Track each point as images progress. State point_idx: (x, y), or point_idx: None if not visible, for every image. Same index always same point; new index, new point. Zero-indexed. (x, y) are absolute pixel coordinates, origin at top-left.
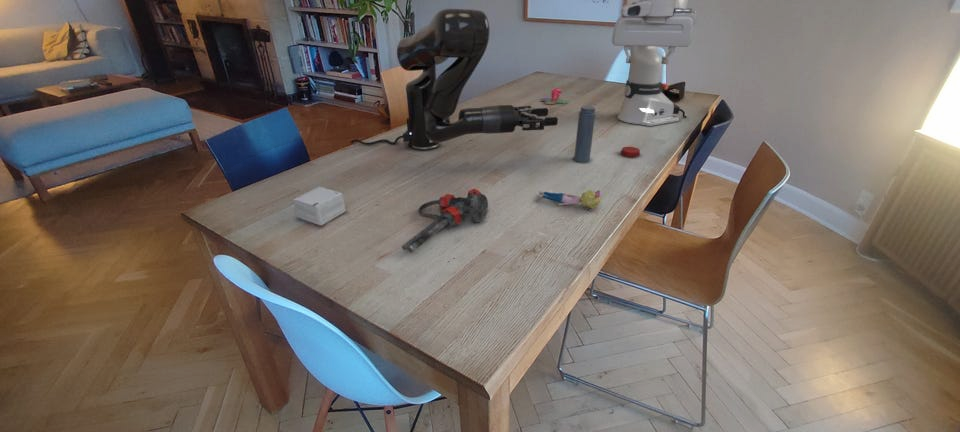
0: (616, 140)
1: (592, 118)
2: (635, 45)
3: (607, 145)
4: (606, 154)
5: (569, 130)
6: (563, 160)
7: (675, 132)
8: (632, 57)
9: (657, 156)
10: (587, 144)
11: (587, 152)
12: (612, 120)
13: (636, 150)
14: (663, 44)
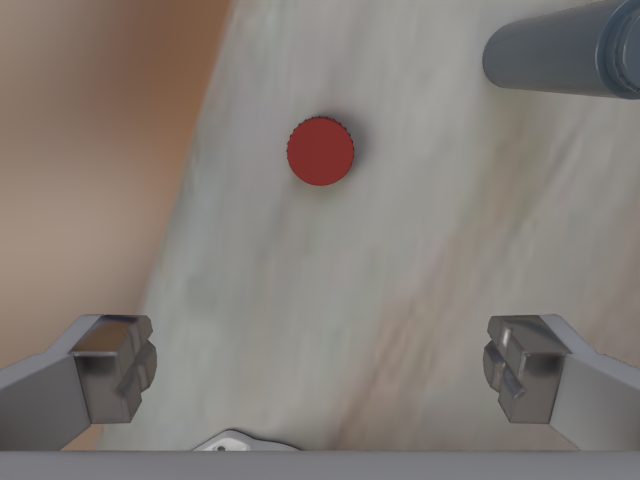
0: (353, 284)
1: (605, 6)
2: (637, 452)
3: (392, 229)
4: (407, 134)
5: None
6: None
7: (147, 389)
8: (524, 349)
9: (222, 147)
10: (539, 17)
11: (517, 24)
12: None
13: (299, 146)
14: (36, 471)
